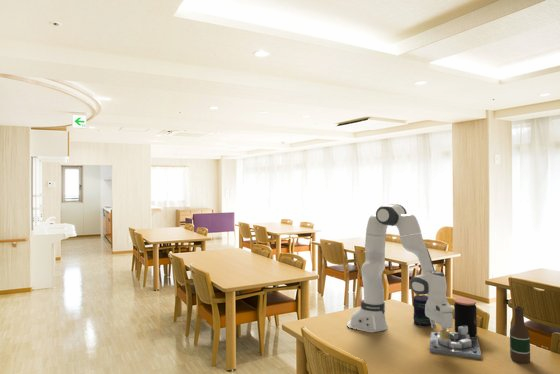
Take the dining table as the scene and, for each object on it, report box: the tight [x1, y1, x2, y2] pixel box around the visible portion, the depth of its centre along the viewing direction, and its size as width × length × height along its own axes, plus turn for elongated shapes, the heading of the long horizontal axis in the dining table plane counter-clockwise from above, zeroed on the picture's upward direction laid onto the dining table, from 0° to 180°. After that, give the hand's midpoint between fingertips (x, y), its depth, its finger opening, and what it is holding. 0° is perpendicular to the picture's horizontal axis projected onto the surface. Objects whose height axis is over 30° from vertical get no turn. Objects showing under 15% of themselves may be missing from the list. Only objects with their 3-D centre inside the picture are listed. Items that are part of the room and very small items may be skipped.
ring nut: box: [437, 325, 472, 349], centre depth 191 cm, size 18×15×6 cm
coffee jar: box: [453, 297, 478, 337], centre depth 206 cm, size 11×11×18 cm
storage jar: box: [412, 295, 431, 328], centre depth 223 cm, size 10×10×15 cm
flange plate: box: [429, 331, 482, 360], centre depth 191 cm, size 22×22×6 cm
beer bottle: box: [509, 305, 531, 365], centre depth 175 cm, size 8×8×24 cm
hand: (438, 331), depth 194 cm, fingers open, 7 cm apart
